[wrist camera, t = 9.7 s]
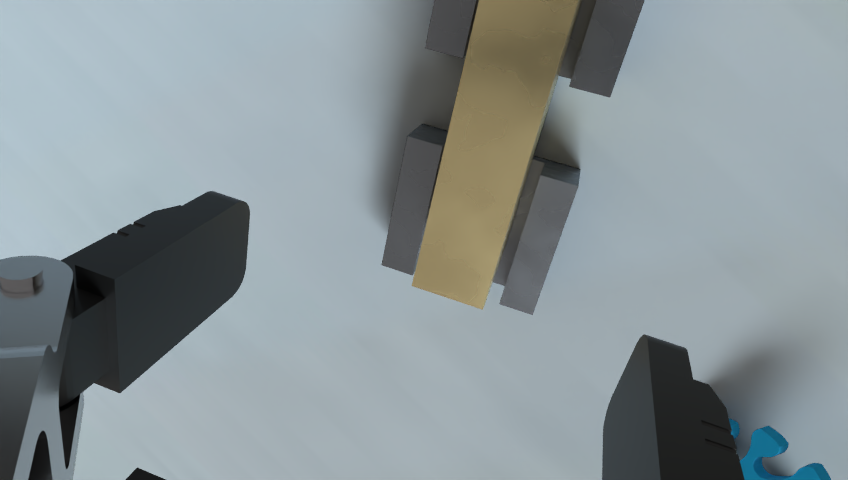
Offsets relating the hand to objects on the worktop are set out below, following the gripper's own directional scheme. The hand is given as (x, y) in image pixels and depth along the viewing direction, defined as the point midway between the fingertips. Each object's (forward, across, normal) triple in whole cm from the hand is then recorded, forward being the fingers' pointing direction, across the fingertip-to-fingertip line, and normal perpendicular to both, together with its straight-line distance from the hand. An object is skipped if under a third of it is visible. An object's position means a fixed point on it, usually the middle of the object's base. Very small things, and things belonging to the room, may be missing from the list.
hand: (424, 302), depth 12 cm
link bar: (+18, +1, 0) cm, 18 cm away
